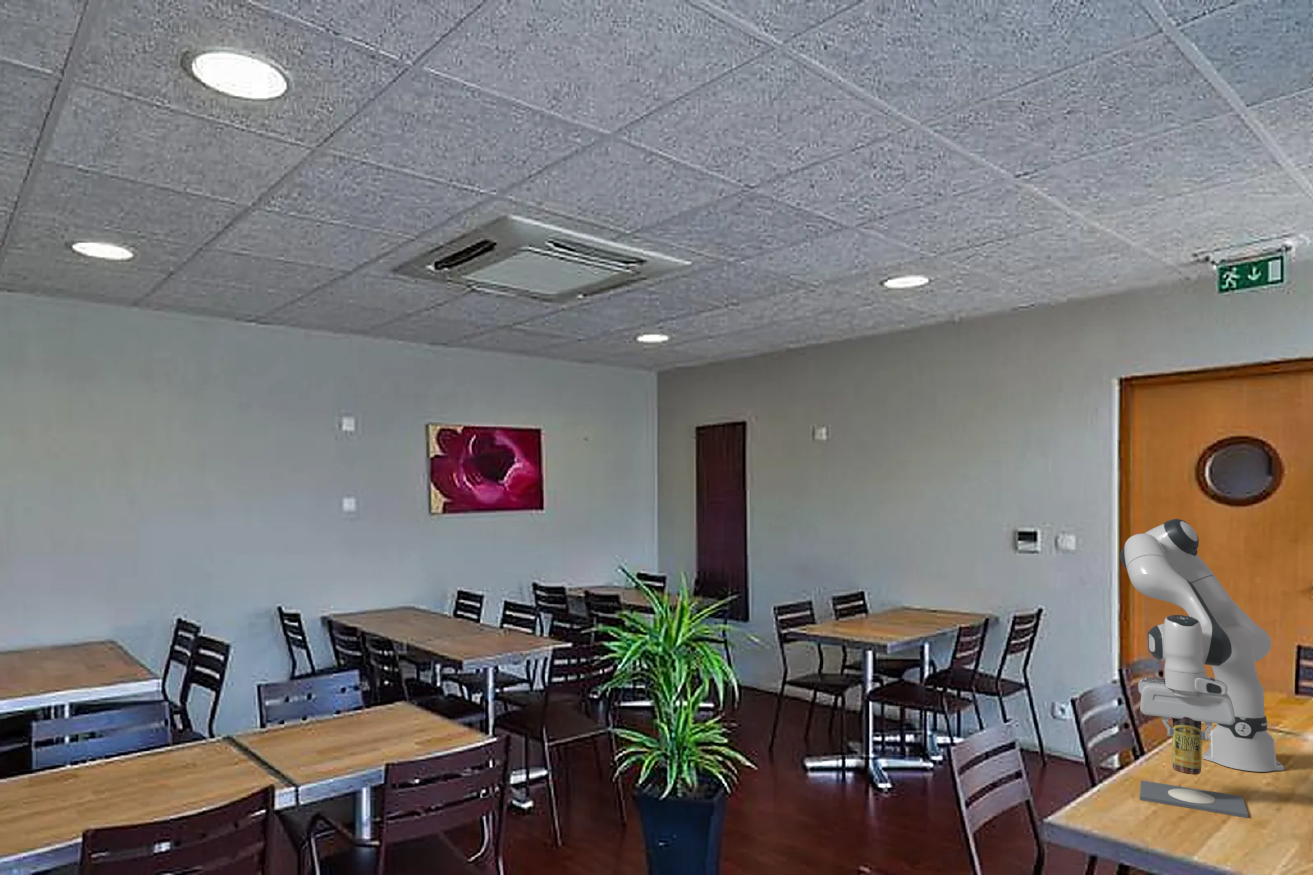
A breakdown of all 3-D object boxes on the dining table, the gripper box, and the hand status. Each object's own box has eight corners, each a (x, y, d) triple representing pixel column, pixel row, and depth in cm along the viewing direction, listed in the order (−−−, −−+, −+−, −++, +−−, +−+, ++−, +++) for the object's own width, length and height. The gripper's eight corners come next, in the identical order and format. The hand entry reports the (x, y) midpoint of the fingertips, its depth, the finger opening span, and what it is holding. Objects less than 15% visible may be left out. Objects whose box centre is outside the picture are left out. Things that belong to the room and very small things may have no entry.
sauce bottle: (1173, 773, 207) (1170, 691, 209) (1171, 766, 212) (1169, 687, 214) (1204, 777, 204) (1201, 695, 206) (1202, 771, 209) (1199, 690, 211)
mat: (1141, 783, 219) (1140, 779, 219) (1242, 799, 207) (1242, 795, 207) (1140, 799, 207) (1139, 795, 207) (1247, 817, 195) (1247, 813, 195)
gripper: (1137, 678, 212) (1139, 734, 211) (1234, 688, 201) (1236, 747, 200) (1138, 674, 218) (1140, 728, 217) (1232, 684, 207) (1235, 740, 206)
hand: (1187, 737), depth 208 cm, fingers closed on sauce bottle, 6 cm apart
